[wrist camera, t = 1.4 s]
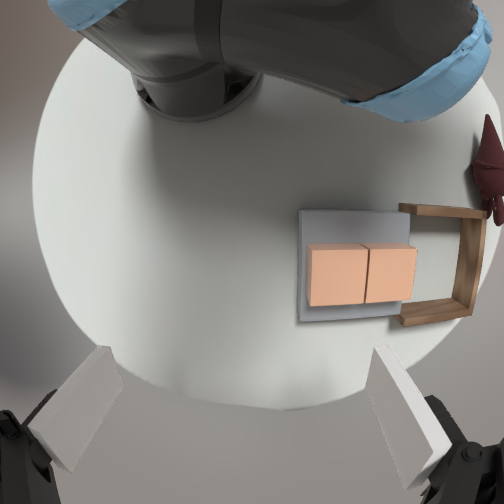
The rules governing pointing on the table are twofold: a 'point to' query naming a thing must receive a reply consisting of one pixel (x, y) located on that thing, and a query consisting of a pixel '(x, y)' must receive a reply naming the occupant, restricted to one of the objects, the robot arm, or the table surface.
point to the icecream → (490, 172)
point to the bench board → (347, 231)
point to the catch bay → (465, 273)
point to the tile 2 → (389, 272)
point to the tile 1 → (336, 273)
